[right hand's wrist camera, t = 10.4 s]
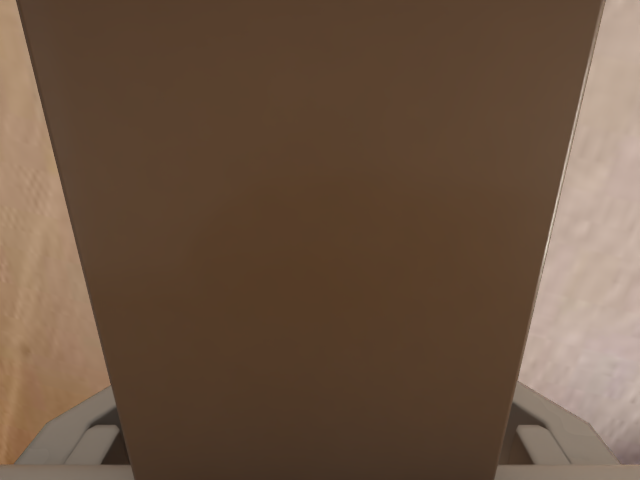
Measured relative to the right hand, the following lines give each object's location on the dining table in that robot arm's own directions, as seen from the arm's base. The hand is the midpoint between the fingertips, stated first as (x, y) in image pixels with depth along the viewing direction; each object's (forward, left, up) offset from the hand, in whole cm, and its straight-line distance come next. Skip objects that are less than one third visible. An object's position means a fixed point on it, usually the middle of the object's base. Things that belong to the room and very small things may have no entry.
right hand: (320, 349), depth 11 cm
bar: (+9, 0, -3) cm, 10 cm away
